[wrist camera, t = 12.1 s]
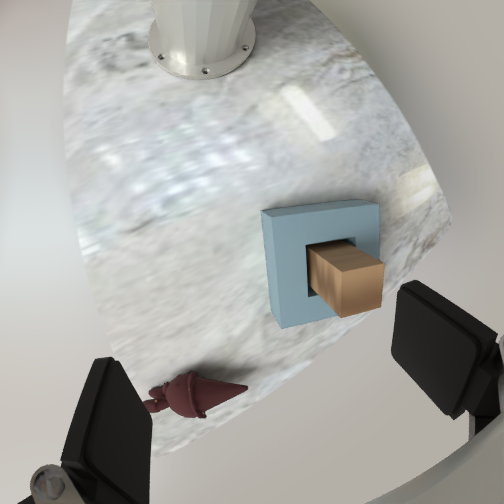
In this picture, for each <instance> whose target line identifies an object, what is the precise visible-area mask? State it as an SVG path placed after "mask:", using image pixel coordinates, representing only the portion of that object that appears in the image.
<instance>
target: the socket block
mask: <svg viewBox="0 0 504 504" xmlns="http://www.w3.org/2000/svg"><path fill="white" fill-rule="evenodd" d="M261 218H262V228H263V237H264V246H265V256H266V266H267V275H268V285H269V295H270V305H271V311H272V313H273V315H274V316H275V318H276V320H277V322H278V324H279V326H280V328H281V329H284V328H288V327H293V326H297V325H302V324H306V323H310V322H314V321H318V320H322V319H326V318H330V317H334V316H338V315H337V314H336V313H335V312H334V311H333V310H332V309H331V308H330V307H329V305H328V304H327V303H326V302H325V301H324V300H323V299H322V298H321V297H320V296H319V295H318V294H317V293H316V292H315V291H314V290H313V289H312V288H311V287H310V285H309V284H308V283H307V265H306V247H305V245H307V244H314V243H320V242H326V241H332V240H338V239H340V240H342V241H344V242H346V243H348V244H350V245H351V246H353V247H355V248H357V249H359V250H361V251H363V252H365V253H367V254H368V255H370V256H372V257H374V258H376V259H378V260H379V237H380V223H379V204H377V203H373V202H369V201H364V200H360V199H353V200H344V201H335V202H326V203H317V204H309V205H300V206H293V207H285V208H277V209H270V210H262V211H261Z"/></svg>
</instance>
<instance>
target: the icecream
mask: <svg viewBox="0 0 504 504" xmlns="http://www.w3.org/2000/svg"><path fill="white" fill-rule="evenodd" d="M246 390H248V386H246V385H240V384H233V383H227V382H221V381H215V380H210V379H205V378H200V377H198V374H197V373H196V372H195V371H191V372H190V374H184V375H178V376H177V377H176V378H175V379H174V380H172V381H171V382H170V383H169V382H167V383H164V385H163V387H162V388H160V387H159V388H153V389H151V390H149V395H150V396H151V397H152V398H155V399H150V400H146V401H143V404H144V405H145V407H146V408H147V410H148V412H149V413H157V412H160V410H164V409H166V408H168V407H170V408H171V409H172V410H173V411H174V412H176V413H177V414H179V415H181V416H183V417H188V418H195V417H198V418H206V417H207V416H206V414H205V411H207V410H209V409H211V408H213V407H215V406H217V405H219V404H221V403H223V402H225V401H227V400H229V399H231V398H233V397H235V396H237V395H239V394H241V393H243V392H245V391H246Z"/></svg>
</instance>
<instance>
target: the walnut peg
mask: <svg viewBox="0 0 504 504" xmlns="http://www.w3.org/2000/svg"><path fill="white" fill-rule="evenodd" d="M305 247H306V265H307V283H308V284H309V285H310V287H311V288H312V289H313V290H314V291H315V292H316V293H317V294H318V295H319V296H320V297H321V298H322V299H323V300H324V301H325V302H326V303H327V304H328V305H329V307H330V308H331V309H332V310H333V311H334V312H335V313H336V314H337V315H338V316H339V317H340V318H343V317H347V316H351V315H355V314H358V313H362V312H365V311H369V310H373V309H376V308H379V307H381V302H382V290H383V277H384V263H383V262H381V261H380V260H378V259H376V258H374V257H372V256H370V255H368V254H367V253H365V252H363V251H361V250H359V249H357V248H355V247H353V246H351V245H350V244H348V243H346V242H344V241H342V240H340V239H338V240H332V241H326V242H320V243H314V244H307V245H305Z"/></svg>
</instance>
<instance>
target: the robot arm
mask: <svg viewBox="0 0 504 504" xmlns="http://www.w3.org/2000/svg"><path fill="white" fill-rule="evenodd" d="M257 1H258V0H151V3H152V7H153V11H154V15H155V20H154V21H153V23H152V25H151V27H150V30H149V33H148V46H149V50H150V53H151V55H152V57H153V59H154V60H155V62H156V63H157V64H158V65H159V66H160V67H161V68H162V69H164V70H165V71H167V72H168V73H170V74H172V75H175V76H177V77H181V78H185V79H192V80H203V79H211V78H216V77H220V76H222V75H225V74H227V73H229V72H231V71H233V70H234V69H236V68H237V67H239V66H240V65H241V64H242V63H243V62H244V61H245V60H246V58H247V57H248V56H249V55H250V53H251V51H252V49H253V46H254V43H255V38H256V31H255V25H254V23H253V20H252V18H251V16H252V13H253V11H254V8H255V6H256V4H257ZM242 49H245V50H246V51H244V50H242ZM161 58H164V59H163V60H160V59H161ZM204 72H207V74H203V73H204ZM497 335H498V334H497V333H496V332H495V331H493V330H492V329H490V328H489V327H488V326H486V325H485V324H483V323H482V322H480V321H479V320H478V319H476V318H475V317H473V316H472V315H470V314H469V313H467V312H466V311H464V310H463V309H461V308H460V307H458V306H457V305H455V304H454V303H452V302H451V301H449V300H448V299H446V298H445V297H443V296H442V295H440V294H438V293H437V292H435V291H434V290H432V289H431V288H429V287H428V286H426V285H424V284H423V283H421V282H420V281H418V280H413V281H410V282H407V283H405V284H402V285H401V287H400V290H399V291H398V292H397V301H396V313H395V322H394V332H393V339H392V346H391V354H392V356H393V358H394V359H395V361H396V362H397V363H398V364H399V365H400V366H401V367H402V368H403V369H404V370H405V371H406V372H407V373H408V375H409V376H410V377H411V378H412V379H413V380H414V381H415V382H416V383H417V384H418V385H419V387H420V388H421V389H422V390H423V391H424V392H425V393H426V394H427V395H428V397H429V398H430V399H431V400H432V401H433V402H434V403H435V404H436V405H437V407H438V408H439V409H440V410H441V411H442V412H443V413H444V414H445V415H449V416H450V417H451V418H452V419H453V420H455V419H456V418H458V417H459V416H460V415H461V414H463V413H464V412H465V410H467V411H468V412H469V441H468V442H467V443H466V444H465V445H463V446H462V447H460V448H459V449H458V450H456V451H455V452H454V453H452V454H451V455H450V456H448V457H447V458H445V459H444V460H442V461H441V462H439V463H438V464H436V465H435V466H433V467H432V468H430V469H429V470H427V471H426V472H424V473H422V474H421V475H419V476H417V477H416V478H414V479H412V480H411V481H409V482H407V483H405V484H403V485H402V486H400V487H398V488H396V489H394V490H392V491H390V492H388V493H386V494H384V495H382V496H380V497H378V498H376V499H374V500H372V501H370V502H367V503H365V504H504V335H503V336H502V337H501V338H500V341H499V344H498V343H496V342H495V341H496V338H497ZM152 425H153V423H152V418H151V415H150V413H149V412H148V410H147V408H146V407H145V405H144V404H143V402H142V400H141V399H140V397H139V395H138V394H137V392H136V390H135V388H134V387H133V385H132V383H131V381H130V380H129V378H128V376H127V374H126V372H125V371H124V369H123V367H122V365H121V363H120V362H119V361H115V360H114V358H112V357H105V358H98V359H95V360H94V362H93V364H92V367H91V369H90V372H89V374H88V377H87V380H86V382H85V385H84V388H83V390H82V393H81V396H80V399H79V401H78V404H77V407H76V410H75V413H74V416H73V419H72V422H71V425H70V428H69V432H68V435H67V438H66V442H65V445H64V449H63V452H62V456H61V459H60V460H61V461H62V464H61V467H59V466H57V465H53V464H50V465H45V466H42V467H40V468H39V469H38V470H37V471H36V472H35V473H34V474H33V476H32V478H31V481H30V490H31V494H32V495H30V496H29V497H27V498H26V499H24V500H23V501H21V502H19V503H18V504H149V489H150V485H149V484H150V457H151V439H152Z"/></svg>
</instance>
